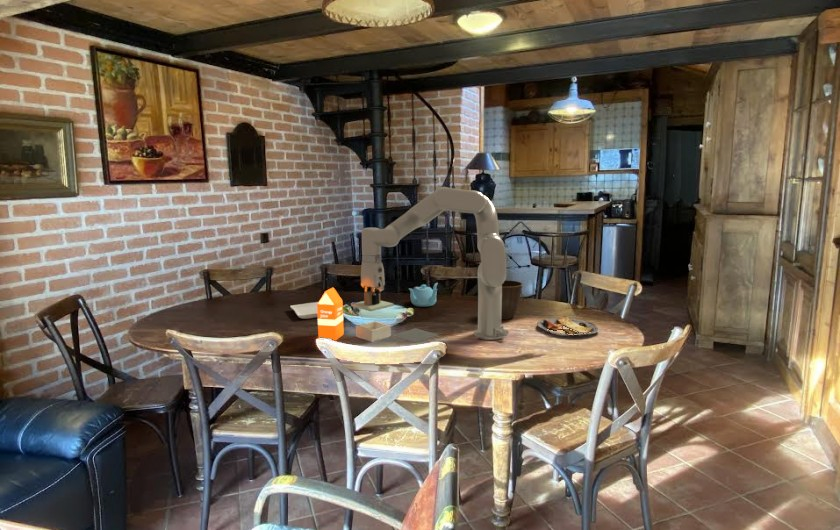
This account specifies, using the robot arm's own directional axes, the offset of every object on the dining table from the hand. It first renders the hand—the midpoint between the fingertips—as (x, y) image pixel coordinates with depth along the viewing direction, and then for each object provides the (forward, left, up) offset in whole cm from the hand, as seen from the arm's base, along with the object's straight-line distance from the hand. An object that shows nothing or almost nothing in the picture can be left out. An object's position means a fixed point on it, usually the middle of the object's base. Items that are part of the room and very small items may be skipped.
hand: (372, 303), depth 210 cm
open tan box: (0, 0, -14) cm, 14 cm away
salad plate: (+50, -6, -15) cm, 52 cm away
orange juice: (+14, +11, -15) cm, 23 cm away
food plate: (-52, -63, -15) cm, 83 cm away
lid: (0, 0, -1) cm, 1 cm away
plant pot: (-21, -62, -15) cm, 67 cm away
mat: (-11, -13, -14) cm, 22 cm away
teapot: (+23, -54, -15) cm, 61 cm away
